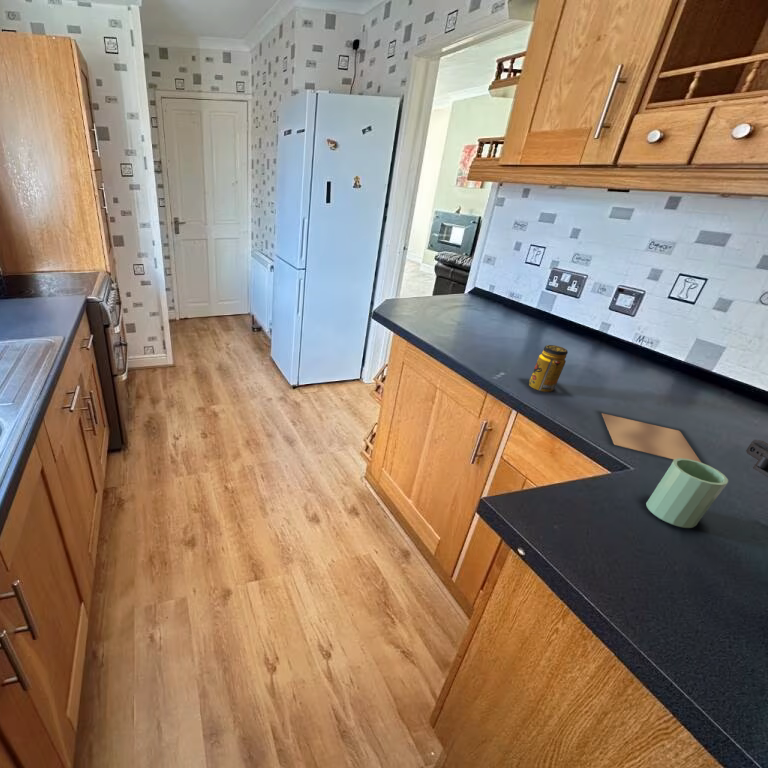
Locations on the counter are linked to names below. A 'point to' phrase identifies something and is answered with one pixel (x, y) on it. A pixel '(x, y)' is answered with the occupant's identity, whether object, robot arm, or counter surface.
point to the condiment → (548, 368)
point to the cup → (686, 492)
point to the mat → (649, 438)
